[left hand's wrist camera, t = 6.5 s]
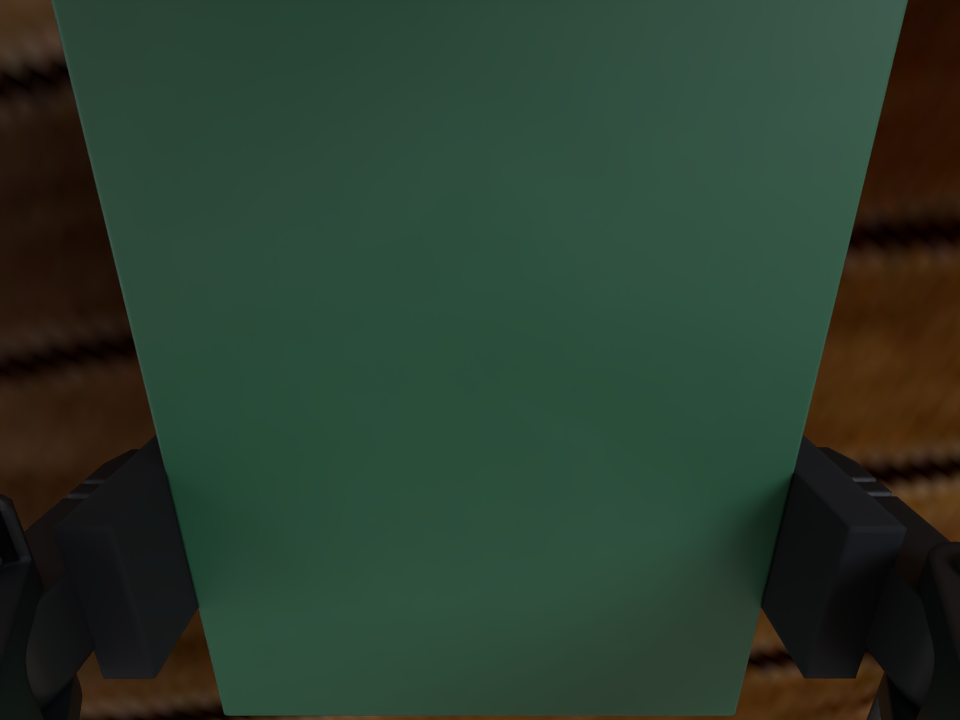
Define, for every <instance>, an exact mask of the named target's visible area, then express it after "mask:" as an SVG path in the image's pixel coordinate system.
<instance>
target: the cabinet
mask: <svg viewBox="0 0 960 720" xmlns="http://www.w3.org/2000/svg"><path fill="white" fill-rule="evenodd" d="M51 1H52V5H53V10H54V14H55V18H56V22H57V26H58V30H59V34H60V38H61V43H62V47H63V51H64V55H65V59H66V63H67V67H68V71H69V76H70V80H71V84H72V88H73V92H74V96H75V100H76V104H77V109H78V113H79V117H80V121H81V125H82V129H83V133H84V137H85V142H86V146H87V150H88V154H89V158H90V162H91V166H92V170H93V175H94V179H95V183H96V187H97V191H98V195H99V199H100V203H101V208H102V212H103V216H104V220H105V224H106V228H107V232H108V236H109V241H110V245H111V249H112V253H113V257H114V261H115V265H116V269H117V274H118V278H119V282H120V286H121V290H122V294H123V298H124V303H125V307H126V311H127V315H128V319H129V323H130V327H131V331H132V336H133V340H134V344H135V348H136V352H137V356H138V360H139V364H140V369H141V373H142V377H143V381H144V385H145V389H146V393H147V397H148V402H149V406H150V410H151V414H152V418H153V422H154V426H155V430H156V435H157V439H158V443H159V447H160V451H161V455H162V459H163V463H164V468H165V472H166V476H167V480H168V484H169V488H170V492H171V496H172V501H173V505H174V509H175V513H176V517H177V521H178V525H179V529H180V534H181V538H182V542H183V546H184V550H185V554H186V558H187V562H188V567H189V571H190V575H191V579H192V583H193V587H194V591H195V596H196V600H197V604H198V608H199V612H200V616H201V620H202V624H203V629H204V633H205V637H206V641H207V645H208V649H209V653H210V657H211V662H212V666H213V670H214V674H215V678H216V682H217V686H218V690H219V695H220V699H221V703H222V707H223V711H224V714H225V715H734V714H735V712H736V708H737V704H738V700H739V696H740V692H741V688H742V684H743V679H744V675H745V671H746V667H747V663H748V659H749V655H750V650H751V646H752V642H753V638H754V634H755V630H756V626H757V622H758V617H759V613H760V609H761V605H762V601H763V597H764V593H765V588H766V584H767V580H768V576H769V572H770V568H771V564H772V560H773V555H774V551H775V547H776V543H777V539H778V535H779V531H780V526H781V522H782V518H783V514H784V510H785V506H786V502H787V498H788V493H789V489H790V485H791V481H792V477H793V473H794V469H795V464H796V460H797V456H798V452H799V448H800V444H801V440H802V436H803V431H804V427H805V423H806V419H807V415H808V411H809V407H810V402H811V398H812V394H813V390H814V386H815V382H816V378H817V373H818V369H819V365H820V361H821V357H822V353H823V349H824V345H825V340H826V336H827V332H828V328H829V324H830V320H831V316H832V311H833V307H834V303H835V299H836V295H837V291H838V287H839V283H840V278H841V274H842V270H843V266H844V262H845V258H846V254H847V249H848V245H849V241H850V237H851V233H852V229H853V225H854V221H855V216H856V212H857V208H858V204H859V200H860V196H861V192H862V187H863V183H864V179H865V175H866V171H867V167H868V163H869V159H870V154H871V150H872V146H873V142H874V138H875V134H876V130H877V125H878V121H879V117H880V113H881V109H882V105H883V101H884V97H885V92H886V88H887V84H888V80H889V76H890V72H891V68H892V63H893V59H894V55H895V51H896V47H897V43H898V39H899V35H900V30H901V26H902V22H903V18H904V14H905V10H906V6H907V1H908V0H51Z"/></svg>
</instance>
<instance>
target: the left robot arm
mask: <svg viewBox="0 0 960 720" xmlns="http://www.w3.org/2000/svg"><path fill="white" fill-rule="evenodd" d="M761 607H762V609H763V611H764V612H765V614H766V616H767V617H768V619H769V621H770V622H771V624H772V626H773V627H774V629H775V631H776V632H777V634H778V635H779V637H780V639H781V640H782V642H783V644H784V645H785V647H786V649H787V650H788V652H789V654H790V655H791V657H792V659H793V660H794V662H795V663H796V665H797V667H798V668H799V670H800V672H801V673H802V675H803V677H804V678H856V675H857V672H858V669H859V666H860V664H861V661H862V658H863V655H864V652H865V649H866V648H867V649H868V651H869V652H870V653H871V654H872V656H873V657H874V658H875V660H876V661H877V662H878V664H879V665H880V666H881V668H882V669H883V670H884V674H883V677H882V679H881V682H880V685H879V688H878V690H877V693H876V696H875V698H874V701H873V704H872V706H871V709H870V712H869V715H868V717H867V720H960V542H950V541H949V540H948V539H946V538H945V537H944V536H943V535H942V534H941V533H939V532H938V531H937V530H936V529H935V528H933V527H932V526H931V525H930V524H929V523H927V522H926V521H925V520H924V519H923V518H922V517H920V516H919V515H918V514H917V513H916V512H914V511H913V510H912V509H911V508H910V507H909V506H907V505H906V504H905V503H904V502H903V501H901V500H900V499H899V498H898V497H897V496H893V495H892V492H891V491H890V490H888V489H887V488H886V487H885V486H884V485H883V484H881V483H880V482H876V479H875V478H874V477H873V476H872V475H871V474H870V473H868V472H867V471H866V470H865V469H864V468H862V467H861V466H860V465H859V464H858V463H857V462H855V461H853V460H851V459H849V458H847V457H845V456H844V455H842V454H840V453H838V452H836V451H834V450H832V449H830V448H828V447H816V446H815V445H814V444H813V443H812V442H810V441H809V440H808V439H807V438H806V437H805V436H804V435H803V436H802V440H801V444H800V448H799V452H798V456H797V460H796V464H795V469H794V473H793V477H792V481H791V485H790V489H789V493H788V498H787V502H786V506H785V510H784V514H783V518H782V522H781V526H780V531H779V535H778V539H777V543H776V547H775V551H774V555H773V560H772V564H771V568H770V572H769V576H768V580H767V584H766V588H765V593H764V597H763V601H762V605H761ZM197 608H198V604H197V600H196V596H195V591H194V587H193V583H192V579H191V575H190V571H189V567H188V562H187V558H186V554H185V550H184V546H183V542H182V538H181V534H180V529H179V525H178V521H177V517H176V513H175V509H174V505H173V501H172V496H171V492H170V488H169V484H168V480H167V476H166V472H165V468H164V463H163V459H162V455H161V451H160V447H159V443H158V439H157V435H156V436H154V437H153V438H152V439H151V440H150V441H149V442H148V443H147V444H146V445H144V446H143V447H142V448H141V449H132V450H130V451H128V452H126V453H124V454H122V455H120V456H118V457H116V458H114V459H112V460H110V461H109V462H107V463H105V464H103V465H102V466H101V467H100V468H99V469H97V470H96V471H95V472H94V473H93V474H92V475H90V476H89V477H88V478H87V479H86V480H85V481H84V484H80V485H79V486H78V487H76V488H75V489H74V490H73V491H72V492H70V493H69V494H68V497H67V499H62V500H61V501H60V502H59V503H58V504H56V505H55V506H54V507H53V508H52V509H51V510H49V511H48V512H47V513H46V514H45V515H43V516H42V517H41V518H40V519H39V520H38V521H36V522H35V523H34V524H33V525H32V526H31V527H29V528H28V529H27V530H26V531H25V532H24V531H23V528H22V526H21V523H20V520H19V517H18V515H17V512H16V509H15V507H14V504H13V501H12V499H10V498H8V497H6V496H4V495H2V494H0V720H79V718H80V710H81V702H82V691H81V686H80V682H79V679H78V677H77V674H76V672H77V671H78V670H79V669H80V667H81V666H82V665H83V663H84V662H85V661H86V659H87V658H88V657H89V655H90V654H91V653H92V651H93V650H94V651H95V654H96V657H97V660H98V663H99V666H100V669H101V672H102V674H103V677H104V679H143V678H155V677H156V676H157V674H158V672H159V671H160V669H161V667H162V666H163V664H164V662H165V661H166V659H167V658H168V656H169V654H170V653H171V651H172V649H173V648H174V646H175V644H176V643H177V641H178V639H179V638H180V636H181V635H182V633H183V631H184V630H185V628H186V626H187V625H188V623H189V621H190V620H191V618H192V616H193V615H194V613H195V611H196V610H197Z"/></svg>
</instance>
